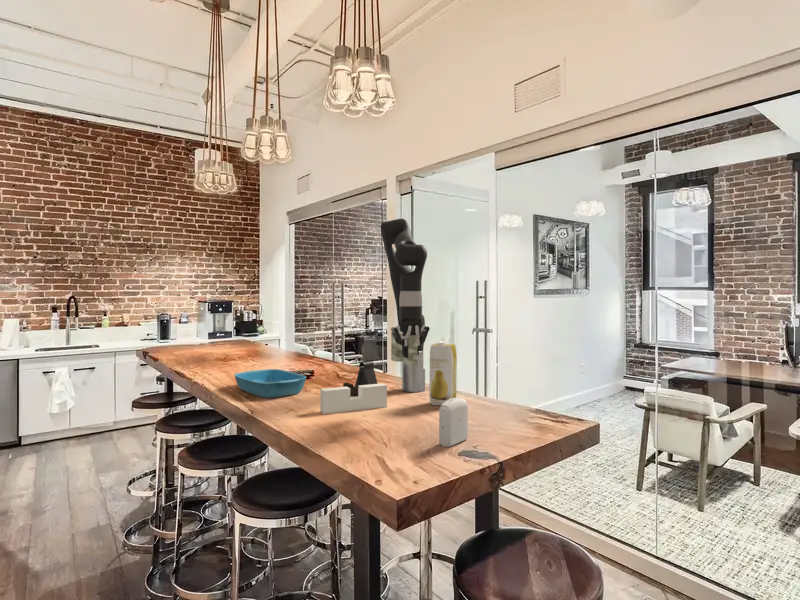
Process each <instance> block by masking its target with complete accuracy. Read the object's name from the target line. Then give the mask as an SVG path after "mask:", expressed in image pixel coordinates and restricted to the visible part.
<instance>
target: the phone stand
mask: <svg viewBox="0 0 800 600" xmlns="http://www.w3.org/2000/svg"><path fill="white" fill-rule="evenodd" d="M374 366H375V362H374V361H373V360H366V361H360V362H359V365H358V367H359V368H358V374H357V377H356V380H355V385H354V387H357V388H358V386H359V385H370V384H378V380H377V376H376V372H375V367H374Z"/></svg>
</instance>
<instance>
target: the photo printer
mask: <svg viewBox="0 0 800 600" xmlns="http://www.w3.org/2000/svg"><path fill="white" fill-rule="evenodd" d="M438 411H439V413H438V415H439V418H438V419H439V420H438V423H439V424H438V425H439V426H438V428H439V429H438V430H439V431H438V437H439V438H438V442H439V444H440V445H441V446H442V447H445V446H446V448H448V447H452V446H455V445H457V444H459V443H461V442H463V441H465V440H467V439H468V437H469V404H468V402H467V401H466V399H464V398H461V397H456V398H452V399H449V400H447V401H446V402H444V403H443V404H442V405H441V406H439V410H438Z"/></svg>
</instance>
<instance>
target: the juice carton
mask: <svg viewBox="0 0 800 600" xmlns="http://www.w3.org/2000/svg"><path fill="white" fill-rule="evenodd" d="M429 349H430V350H429V387H428V388H429V403H430V405H431V404H432V405H431V406H438V405H442V404H443V403H444V402H446V401H447V400H449V399H452V398H457V388H458V387H457V382H458V381H457V380H458V379H457V375H458V374H457V373H458V372H457V370H458V369H457V368H458V363H457V362H458V358H457V357H458V355H457V354H458V353H457V346H456V344H455V343H449V344H446V341H445V340H441V341H438V343H433V344H431V345H430V348H429Z"/></svg>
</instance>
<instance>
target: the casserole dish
mask: <svg viewBox="0 0 800 600" xmlns="http://www.w3.org/2000/svg"><path fill="white" fill-rule="evenodd" d="M233 376H234V379H235V381H236V384H237V386H238V388H239V389H240V390H242V391H243V390H244V391H243V392H246V393H248V392H249V394H250V395H251V394H252V395H254V396H257V397H261V398H266V399H272V398H273V399H274V398H281V397H286V396H287V397H288V396H292V395H297V394H299V393H300V392H301V391H302V390H303V388H304V386H305V382H306V380H307V376H306V375H303V374H301V373H296V372H292V371H287V370H283V369H275V368H270V369H269V368H268V369H255V370H247V371H243V372H238V373H234V374H233Z"/></svg>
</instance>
